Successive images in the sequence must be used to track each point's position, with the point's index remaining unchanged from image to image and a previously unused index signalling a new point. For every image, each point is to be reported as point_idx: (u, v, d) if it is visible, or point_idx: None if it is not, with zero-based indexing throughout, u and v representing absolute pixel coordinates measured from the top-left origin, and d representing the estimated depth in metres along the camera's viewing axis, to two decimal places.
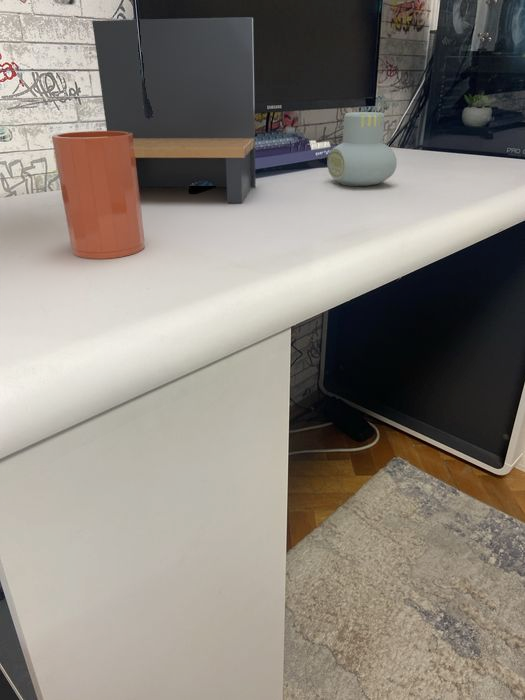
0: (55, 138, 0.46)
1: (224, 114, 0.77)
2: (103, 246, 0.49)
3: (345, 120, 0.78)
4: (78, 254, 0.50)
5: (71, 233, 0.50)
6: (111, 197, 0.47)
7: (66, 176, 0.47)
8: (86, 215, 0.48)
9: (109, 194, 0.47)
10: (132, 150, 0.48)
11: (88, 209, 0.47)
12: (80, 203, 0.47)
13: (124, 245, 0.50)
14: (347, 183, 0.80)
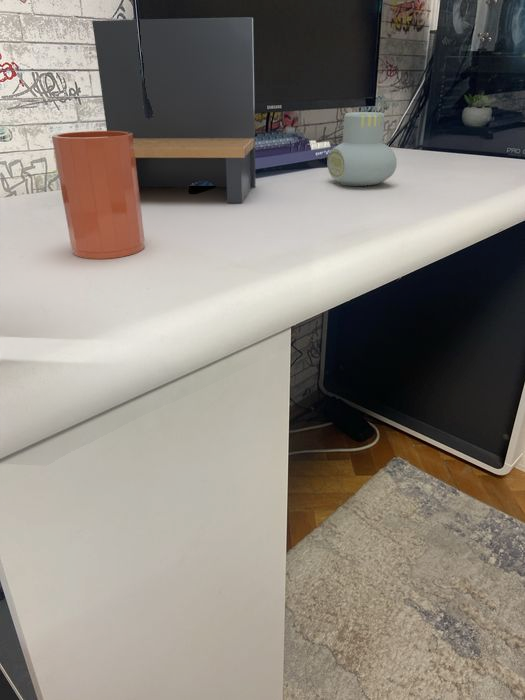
0: (55, 138, 0.46)
1: (224, 114, 0.77)
2: (103, 246, 0.49)
3: (345, 120, 0.78)
4: (78, 254, 0.50)
5: (71, 233, 0.50)
6: (111, 197, 0.47)
7: (66, 176, 0.47)
8: (86, 215, 0.48)
9: (109, 194, 0.47)
10: (132, 150, 0.48)
11: (88, 209, 0.47)
12: (80, 203, 0.47)
13: (124, 245, 0.50)
14: (347, 183, 0.80)
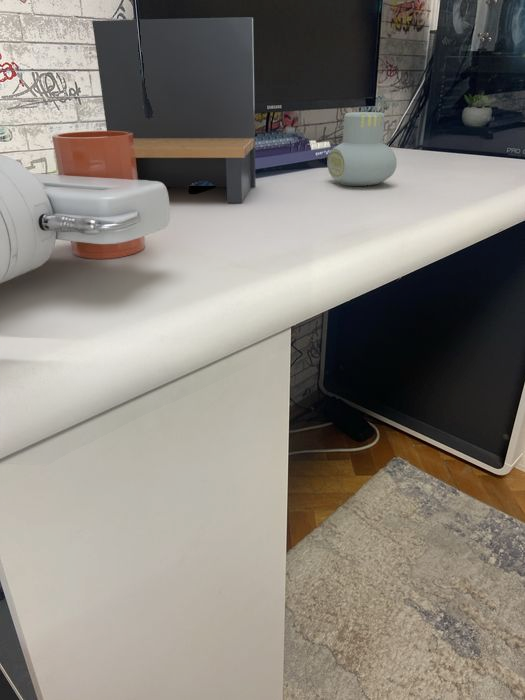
0: (55, 138, 0.46)
1: (224, 114, 0.77)
2: (103, 246, 0.49)
3: (345, 120, 0.78)
4: (78, 254, 0.50)
5: None
6: None
7: None
8: None
9: None
10: (132, 150, 0.48)
11: None
12: None
13: (124, 245, 0.50)
14: (347, 183, 0.80)
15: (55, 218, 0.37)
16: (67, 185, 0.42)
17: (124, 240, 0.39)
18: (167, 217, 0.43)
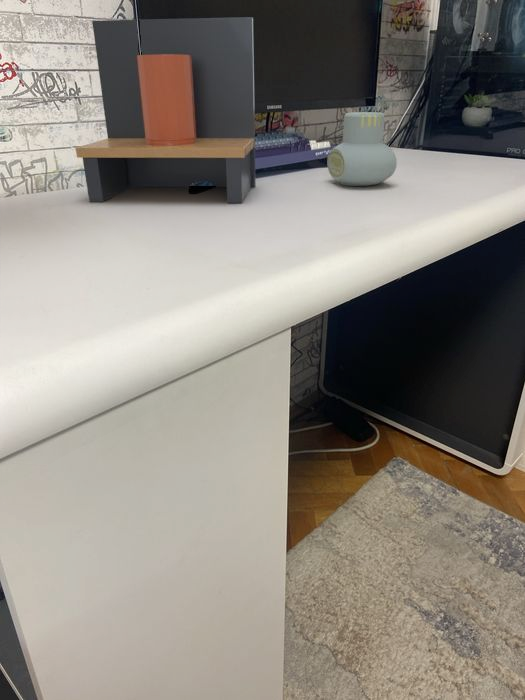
0: (140, 56, 0.67)
1: (224, 114, 0.77)
2: (170, 135, 0.70)
3: (345, 120, 0.78)
4: (151, 143, 0.71)
5: (147, 127, 0.70)
6: (177, 99, 0.68)
7: (146, 83, 0.67)
8: (159, 112, 0.68)
9: (176, 96, 0.68)
10: (191, 67, 0.69)
11: (161, 107, 0.68)
12: (156, 103, 0.68)
13: (184, 136, 0.70)
14: (347, 183, 0.80)
15: None
16: None
17: None
18: None
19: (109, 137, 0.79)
